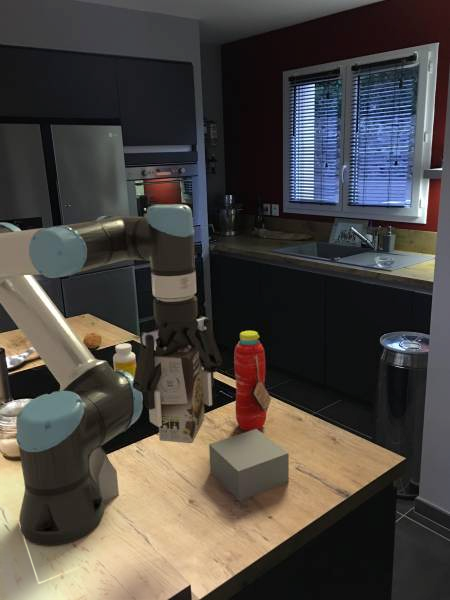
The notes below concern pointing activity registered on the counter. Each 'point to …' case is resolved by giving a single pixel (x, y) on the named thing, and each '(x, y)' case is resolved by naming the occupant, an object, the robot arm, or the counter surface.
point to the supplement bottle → (124, 359)
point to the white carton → (103, 474)
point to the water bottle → (250, 382)
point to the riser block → (249, 463)
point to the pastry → (92, 340)
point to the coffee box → (180, 394)
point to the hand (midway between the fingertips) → (181, 413)
